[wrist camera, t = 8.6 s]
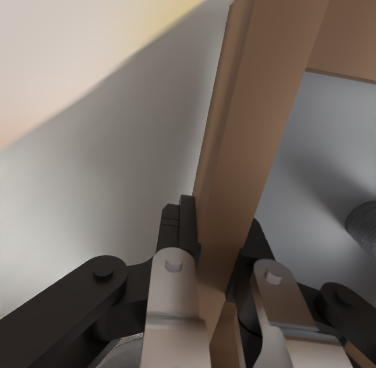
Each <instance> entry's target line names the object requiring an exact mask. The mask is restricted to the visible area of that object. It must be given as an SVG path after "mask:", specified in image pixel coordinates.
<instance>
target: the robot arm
mask: <svg viewBox="0 0 376 368" xmlns="http://www.w3.org/2000/svg"><path fill="white" fill-rule="evenodd" d="M200 254H201V243H198V237H197V222H196V207H195V196H188V195H181V196H180V201H179V205H174V204H167V205H166V206H165V207H164V209H163V210H162V216H161V223H160V229H159V236H158V243H157V249H156V253H155V255H154V256H153V257H152V258H151V259H150V260H148V261H147V262H144V263H142V264H138V265H132V266H126V264H125V263H124V262H123V261H122V260H121V259H119V258H117V257H114V256H108V255H104V256H98V257H94V258H92V259H90V260H88V261H87V262H85V263H84V264H82V265H81V266H79V267H78V268H76V269H75V270H73V271H72V272H70V273H69V274H67V275H66V276H64V277H63V278H61V279H60V280H58V281H57V282H55V283H54V284H53V285H51V286H50V287H48V288H47V289H45V290H44V291H42V292H41V293H39V294H38V295H36V296H35V297H33V298H32V299H30V300H29V301H27V302H26V303H24V304H23V305H21V306H20V307H18V308H17V309H15V310H14V311H13V312H11V313H10V314H8V315H7V316H5V317H4V318H2V319H1V320H0V368H96V367H97V366H98V364H99V363H100V362H101V361H102V360H103V359H104V358H105V357H106V355H107V354H108V353H109V352H110V351H111V350H112V349H113V348H114V347H115V345H116V344H117V343H118V342H119V341H120V339H121V338H123V337H127V336H131V335H135V334H138V333H142V332H143V339H142V347H141V355H140V364H139V368H211V361H210V352H209V343H208V334H207V327H206V323H205V320H204V319H201V318H200V314H199V303H198V292H197V281H196V271H197V267H198V263H199V258H200ZM225 299H226V302H228V303H235V304H236V309H237V310H236V313H235V315H234V320H233V321H234V329H235V336H236V343H237V350H238V357H239V364H240V368H362V367H361V366H360V365H359V364H358V363H357V362H356V361H355V360H354V359H353V358H352V357H351V356H349V355H348V354H347V353H346V352H345V351H344V348H345V347H346V346H347V345H348V343H349V342H351V343H352V344H353V345H354V346H355V347H356V348H357V349H358V350H359V351H360V352H362V353H363V354H364V355H365V356H366V357H367V358H368V359H369V360H370V361H371V362H372V363H373V364H374V365H376V308H375V307H374V306H372V305H371V304H370V303H368V302H367V301H366V300H365V299H363V298H362V297H361V296H359V295H358V294H357V293H355V292H354V291H353V290H351V289H350V288H348V287H346V286H344V285H342V284H339V283H335V282H327V283H324V284H323V285H322V287H321V289H320V290H317V289H314V288H312V287H309V286H306V285H303V284H301V283H298V282H296V280H295V278H294V276H293V274H292V273H291V271H290V270H289V269H288V268H287V267H286V266H284V265H283V264H281V263H279V262H277V261H276V260H275V257H274V255H273V253H272V250H271V248H270V246H269V244H268V241H267V239H265V235H264V232H263V230H262V228H261V225H260V223H259V222H258V221H257V220H256V219H255V218H253V221H252V224H251V227H250V230H249V233H248V236H247V238H246V241H245V244H244V247H243V249H242V248H240V250H239V253H238V256H237V259H236V262H235V265H234V268H233V271H232V274H231V277H230V280H229V283H228V286H227V288H226V291H225Z"/></svg>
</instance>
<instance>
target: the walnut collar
mask: <svg viewBox="0 0 376 368" xmlns="http://www.w3.org/2000/svg"><path fill="white" fill-rule="evenodd" d="M305 71H306V72H311V73H317V74H322V75H327V76H333V77H338V78H343V79H348V80H354V81H359V82H364V83H370V84H375V85H376V0H235V1H234V2H233V3H232V4H231V5H230V8H229V13H228V18H227V23H226V28H225V33H224V38H223V43H222V48H221V53H220V58H219V63H218V68H217V73H216V78H215V83H214V88H213V93H212V98H211V103H210V108H209V113H208V118H207V123H206V128H205V133H204V138H203V143H202V148H201V153H200V158H199V163H198V168H197V173H196V178H195V183H194V188H193V193H192V196H195V207H196V222H197V237H198V243H201V254H200V258H199V263H198V267H197V271H196V281H197V292H198V303H199V314H200V318H201V319H204V320H205V323H206V327H207V334H208V343H209V352H210V361H211V368H240V364H239V357H238V350H237V343H236V336H235V329H234V321H233V320H234V315H235V313H236V310H237V309H236V304H235V303H228V302H226V300H225V291H226V288H227V286H228V283H229V280H230V277H231V274H232V271H233V268H234V265H235V262H236V259H237V256H238V253H239V250H240V248H242V249H243V247H244V244H245V241H246V238H247V236H248V233H249V230H250V227H251V224H252V221H253V218H254V215H255V213H256V210H257V207H258V204H259V201H260V198H261V195H262V192H263V190H264V187H265V184H266V181H267V178H268V175H269V172H270V169H271V167H272V164H273V161H274V158H275V155H276V152H277V149H278V146H279V144H280V141H281V138H282V135H283V132H284V129H285V126H286V123H287V121H288V118H289V115H290V112H291V109H292V106H293V103H294V100H295V98H296V95H297V92H298V89H299V86H300V83H301V80H302V77H303V74H304V72H305ZM344 351H345V352H346V353H347V354H348V355H349V356H351V357H352V358H353V359H354V360H355V361H356V362H357V363H358V364H359V365H360V366H361V367H362V368H376V365H374V364H373V363H372V362H371V361H370V360H369V359H368V358H367V357H366V356H365V355H364V354H363V353H362V352H360V351H359V350H358V349H357V348H356V347H355V346H354V345H353V344H352V343H351V342H349V343H348V345H347V346H346V347H345V348H344Z"/></svg>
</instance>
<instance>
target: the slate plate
mask: <svg viewBox="0 0 376 368" xmlns="http://www.w3.org/2000/svg"><path fill="white" fill-rule="evenodd" d="M369 201H376V85H375V84H370V83H364V82H359V81H354V80H348V79H343V78H338V77H333V76H327V75H322V74H317V73H311V72H306V71H305V72H304V74H303V77H302V80H301V83H300V86H299V89H298V92H297V95H296V98H295V100H294V103H293V106H292V109H291V112H290V115H289V118H288V121H287V123H286V126H285V129H284V132H283V135H282V138H281V141H280V144H279V146H278V149H277V152H276V155H275V158H274V161H273V164H272V167H271V169H270V172H269V175H268V178H267V181H266V184H265V187H264V190H263V192H262V195H261V198H260V201H259V204H258V207H257V210H256V213H255V215H254V218H255V219H256V220H257V221H258V222H259V223H260V225H261V228H262V230H263V232H264V235H265V239H267V241H268V244H269V246H270V248H271V250H272V253H273V255H274V257H275V260H276V261H277V262H279V263H281V264H283V265H284V266H286V267H287V268H288V269H289V270H290V271H291V273H292V274H293V276H294V278H295V280H296V282H298V283H301V284H303V285H306V286H309V287H312V288H314V289H317V290H320V289H321V287H322V285H323V284H324V283H327V282H335V283H339V284H342V285H344V286H346V287H348V288H350V289H351V290H353V291H354V292H355V293H357V294H358V295H359V296H361V297H362V298H363V299H365V300H366V301H367V302H368V303H370V304H371V305H372V306H374V307H375V308H376V263H375V262H374V261H373V260H372V259H371V258H370V257H369V256H368V255H367V253H366V252H365V251H364V250H363V249H362V248H361V247H360V246H359V245H358V244H357V242H356V241H355V240H354V239H353V238H352V237H351V236H350V235H349V234H348V233H347V231H346V229H345V221H346V219H347V217H348V215H349V214H350V213H351V212H352V211H353V210H354V209H355V208H356V207H358V206H359V205H361V204H363V203H366V202H369Z"/></svg>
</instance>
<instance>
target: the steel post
mask: <svg viewBox="0 0 376 368" xmlns="http://www.w3.org/2000/svg"><path fill="white" fill-rule="evenodd" d="M345 229H346V231H347V233H348V234H349V235H350V236H351V237H352V238H353V239H354V240H355V241H356V242H357V244H358V245H359V246H360V247H361V248H362V249H363V250H364V251H365V252H366V253H367V255H368V256H369V257H370V258H371V259H372V260H373V261H374V262H375V263H376V201H369V202H366V203H363V204H361V205H359V206H358V207H356V208H355V209H354V210H353V211H352V212H351V213H350V214H349V215H348V217H347V219H346V221H345Z"/></svg>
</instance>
